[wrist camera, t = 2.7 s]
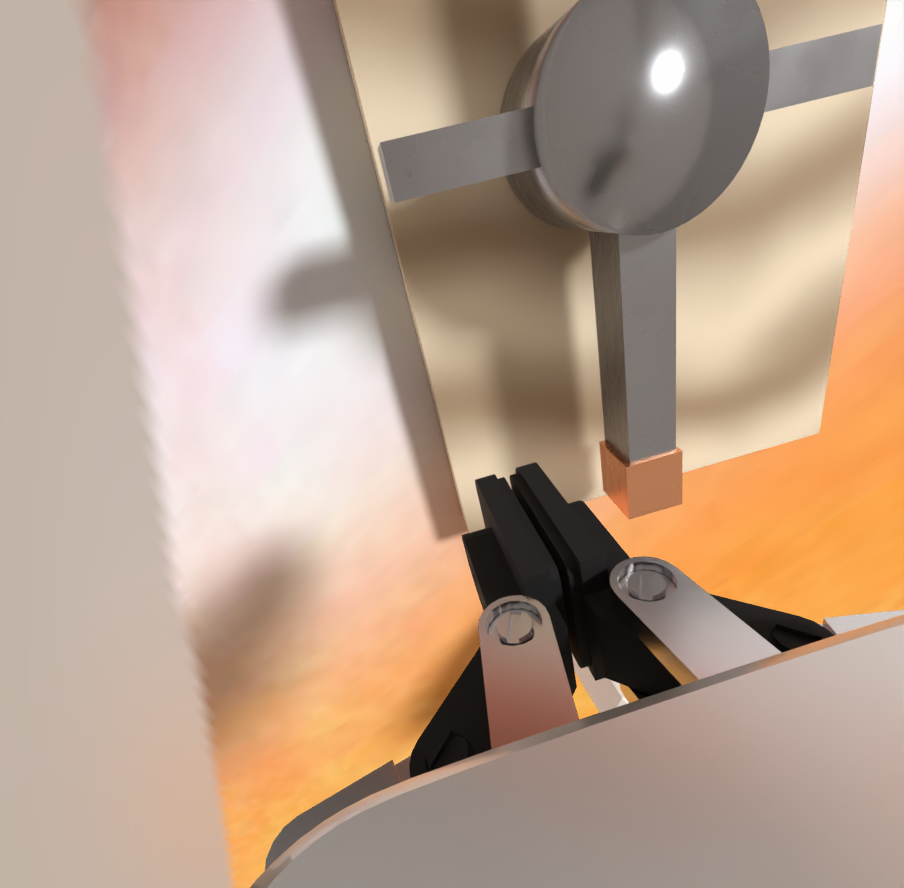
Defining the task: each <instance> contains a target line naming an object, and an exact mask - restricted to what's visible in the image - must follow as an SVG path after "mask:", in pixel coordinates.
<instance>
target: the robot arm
mask: <svg viewBox="0 0 904 888" xmlns="http://www.w3.org/2000/svg"><path fill="white" fill-rule="evenodd" d="M515 472H516V474H512V475H510V483H511V487H510V486H509V484H508V482H507V481H506V479H505V478H504V477H502V478H499V479H498V478H497V476H496V475H495V474H493V475H489V476H486V477H482V478H479V479H476V480H475V485H476V490H477V494H478V498H479V503H480V507H481V511H482V516H483V520H484V524H485V528H484V529H481V530H478V531H474V532H471V533H468V534H464V535H462V539H463V543H464V547H465V551H466V555H467V559H468V562H469V566H470V570H471V573H472V576H473V580H474V583H475V586H476V589H477V592H478V595H479V598H480V601H481V604H482V607H483V610H484V611H483V613H482V615H481V617H480V619H479V627H478V630H479V640H480V648H479V649H478V651H477V652H476V654H475V655H474V657H473V658H472V660H471V661H470V663H469V664H468V666H467V667H466V669H465V670H464V672H463V673H462V675H461V676H460V678H459V679H458V681H457V682H456V684H455V685H454V687H453V688H452V690H451V691H450V693H449V694H448V696H447V697H446V699H445V700H444V702H443V703H442V705H441V706H440V708H439V709H438V711H437V712H436V714H435V715H434V717H433V718H432V720H431V721H430V723H429V724H428V726H427V727H426V729H425V730H424V732H423V733H422V735H421V736H420V738H419V739H418V741H417V743H416V745H415V747H414V749H413V751H412V754H411V756H410V757H408V758H406V759H405V760H403V761H401V762H400V763H398V764H396V765H394V762H393V760H391V761H390V762H388V763H386V764H385V765H383V766H381V767H380V768H378V769H376V770H375V771H373V772H371V773H369V774H368V775H366V776H364V777H363V778H361V779H359V780H358V781H356V782H354V783H353V784H351V785H349V786H348V787H346V788H344V789H343V790H341V791H339V792H337V793H336V794H334V795H332V796H331V797H329V798H327V799H326V800H324V801H322V802H321V803H319V804H317V805H316V806H314V807H312V808H311V809H309V810H307V811H305V812H304V813H302V814H300V815H299V816H297V817H296V818H295V819H293V820H292V821H291V822H290V823H288V824H287V825H286V826H285V827H284V828H283V829H282V831H281V832H280V833H279V835H278V836H277V837H276V839H275V840H274V842H273V844H272V846H271V849H270V851H269V854H268V856H267V859H266V866H265V871H264V872H263V873H262V874H261V875H260V877H259V878H258V879H257V880H256V881H255V882H254V883H253V885H252V886H251V887H250V888H904V610H898V611H889V612H879V613H869V614H860V615H850V616H840V617H831V618H824V620H823V624H822V625H819V624H817V623H816V622H814V621H811V620H808V619H805V618H803V617H800V616H796V615H792V614H788V613H784V612H780V611H776V610H772V609H768V608H764V607H760V606H756V605H752V604H748V603H744V602H740V601H736V600H732V599H728V598H724V597H720V596H716V595H711V594H709V593H707V592H706V591H705V590H704V589H702V588H701V587H700V586H699V585H697V584H696V583H695V582H694V581H692V580H691V579H690V578H689V577H688V576H686V575H685V574H684V573H683V572H681V571H680V570H679V569H678V568H676V567H675V566H673V565H672V564H670V563H668V562H667V561H664V560H661V559H658V558H653V557H645V556H644V557H633V558H629V556H628V555H627V554H626V553H625V551H624V550H623V549H622V548H621V547H620V545H619V544H618V543H617V542H616V541H615V539H614V538H613V537H612V536H611V534H610V533H609V532H608V531H607V530H606V528H605V527H604V526H603V525H602V524H601V522H600V521H599V520H598V519H597V517H596V516H595V515H594V514H593V513H592V511H591V510H590V509H589V508H588V506H587V505H586V504H585V503H584V502H583V501H581V500H578V501H575V502H572V503H567V502H566V500H565V499H564V498H563V496H562V495H561V494H560V492H559V491H558V490H557V488H556V487H555V486H554V484H553V483H552V482H551V481H550V479H549V478H548V477H547V475H546V474H545V473H544V471H543V470H542V469H541V467H540V466H539V465H538V464H537V463H536V462H534V463H531V464H527V465H524V466H520V467H517V468H516V469H515ZM572 654H573V656H574V658H575V660H576V662H577V664H578V666H579V667H580V668H581V669H582V668H585V667H588V668H589V670H590V672H591V674H592V676H593V677H594V679H595V681H597V680H600V679H603V678H607V679H609V680H612V681H615V682H617V683H619V684H620V689H621V691H622V693H623V695H624V696H625V698H626V699H627V701H628V702H629V703H628V704H625V705H622V706H619V707H616V708H613V709H610V710H607V711H604V712H601V713H598V714H595V715H592V716H589V717H586V718H583V719H580V720H579V717H578V714H577V710H576V707H575V703H574V700H573V694H574V692H575V689H576V687H577V686H576V680H575V673H574V664H573V657H572Z"/></svg>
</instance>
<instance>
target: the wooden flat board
mask: <svg viewBox="0 0 904 888" xmlns="http://www.w3.org/2000/svg"><path fill="white" fill-rule="evenodd" d="M577 1H579V0H333V4H334V8H335V12H336V16H337V20H338V24H339V28H340V32H341V36H342V40H343V44H344V48H345V52H346V56H347V60H348V64H349V68H350V72H351V76H352V80H353V84H354V88H355V92H356V95H357V99H358V103H359V107H360V111H361V115H362V119H363V123H364V127H365V131H366V135H367V139H368V143H369V147H370V151H371V155H372V159H373V163H374V167H375V171H376V175H377V179H378V183H379V187H380V191H381V194H382V198H383V202H384V206H385V210H386V214H387V218H388V222H389V226H390V230H391V234H392V238H393V242H394V246H395V250H396V254H397V258H398V262H399V266H400V270H401V274H402V278H403V282H404V286H405V289H406V293H407V297H408V301H409V305H410V309H411V313H412V317H413V321H414V325H415V329H416V333H417V337H418V341H419V345H420V349H421V353H422V357H423V361H424V365H425V369H426V373H427V377H428V381H429V385H430V388H431V392H432V396H433V400H434V404H435V408H436V412H437V416H438V420H439V424H440V428H441V432H442V436H443V440H444V444H445V448H446V452H447V456H448V460H449V464H450V468H451V472H452V476H453V480H454V483H455V487H456V491H457V495H458V499H459V503H460V507H461V511H462V515H463V518H464V521H465V524H466V527H467V530H468V533H471V532H474V531H478V530H481V529H484V528H485V524H484V520H483V516H482V511H481V507H480V503H479V498H478V494H477V490H476V485H475V480H476V479H479V478H482V477H486V476H489V475H493V474H495V475H496V476H497V478H498V479H499V478H502V477H504V478H505V479H506V481H507V482H508V484H509V486H510V487H511V483H510V475H512V474H516V472H515V469H516V468H517V467H520V466H524V465H527V464H531V463H534V462H536V463H537V464H538V465H539V466H540V467H541V469H542V470H543V471H544V473H545V474H546V475H547V477H548V478H549V479H550V481H551V482H552V483H553V484H554V486H555V487H556V488H557V490H558V491H559V492H560V494H561V495H562V496H563V498H564V499H565V500H566V502H567V503H572V502H575V501H578V500H581V501H583V502H585V501H588V500H592V499H595V498H598V497H602V496H605V495H607V494H606V493H605V492H604V491H603V481H602V469H601V457H600V445H599V442H600V441H603V440H605V434H604V421H603V408H602V395H601V382H600V368H599V355H598V342H597V329H596V315H595V302H594V289H593V276H592V263H591V249H590V236H589V231H582V230H572V229H564V228H559V227H556V226H552V225H550V224H548V223H546V222H544V221H542V220H540V219H539V218H537V217H536V216H534V215H533V214H532V213H531V212H530V211H528V210H527V209H526V208H525V207H524V205H523V204H522V203H521V202H520V201H519V200H518V198H517V197H516V195H515V193H514V192H513V190H512V189H511V186H510V184H509V182H508V180H507V178H506V176H503V177H499V178H494V179H490V180H486V181H482V182H478V183H474V184H470V185H466V186H462V187H458V188H454V189H450V190H445V191H441V192H437V193H433V194H429V195H425V196H421V197H417V198H413V199H409V200H405V201H401V202H396V203H391V202H390V198H389V194H388V190H387V186H386V182H385V177H384V173H383V169H382V165H381V161H380V157H379V153H378V147H379V144H380V142H384V141H388V140H392V139H397V138H401V137H405V136H409V135H414V134H418V133H422V132H426V131H430V130H435V129H439V128H443V127H447V126H452V125H456V124H460V123H464V122H469V121H473V120H477V119H481V118H485V117H490V116H494V115H498V114H500V108H501V104H502V100H503V96H504V93H505V90H506V87H507V84H508V81H509V79H510V77H511V75H512V73H513V71H514V69H515V67H516V65H517V64H518V62H519V60H520V59H521V57H522V56H523V54H524V53H525V52H526V51H527V49H528V48H529V47H530V46H531V44H532V43H533V42H534V41H535V40H537V39H538V38H539V37H540V36H541V35H542V34H543V33H544V32H545V31H546V30H547V29H548V28H549V27H550V26H552V25H553V24H554V23H555V22H556V21H557V20H558V19H559V18H560V17H561V16H562V15H563V14H564V13H566V12H567V11H568V10H569V9H570V8H571V7H572V6H573V5H574V4H575V3H576V2H577ZM756 2H757V4H758V6H759V8H760V11H761V14H762V17H763V21H764V24H765V28H766V33H767V38H768V45H769V50H773V49H777V48H781V47H786V46H790V45H794V44H798V43H803V42H807V41H811V40H815V39H820V38H824V37H828V36H832V35H836V34H841V33H845V32H849V31H853V30H858V29H862V28H866V27H870V26H875V25H879V24H884V18H885V12H886V5H887V0H756ZM882 31H883V25H882ZM882 31H881V37H882ZM881 37H880V43H881ZM879 50H880V44H879ZM879 50H878V56H879ZM878 56H877V62H878ZM876 69H877V63H876ZM876 69H875V75H876ZM874 81H875V76H874ZM873 88H874V82H873V86H870V87H866V88H862V89H858V90H854V91H850V92H846V93H841V94H837V95H833V96H829V97H825V98H821V99H817V100H813V101H809V102H805V103H801V104H797V105H793V106H788V107H784V108H780V109H776V110H772V111H768V112H764V114H763V118H762V121H761V124H760V128H759V131H758V134H757V136H756V139H755V141H754V143H753V146H752V148H751V150H750V152H749V154H748V156H747V158H746V160H745V162H744V164H743V165H742V167H741V169H740V170H739V172H738V173H737V175H736V176H735V178H734V179H733V181H732V182H731V183H730V184H729V186H728V187H727V188H726V189H725V191H724V192H723V193H722V194H721V195H720V196H719V197H718V198H717V199H716V200H715V201H714V202H713V203H712V204H711V205H710V206H709V207H708V208H706V209H705V210H704V211H703V212H702V213H700V214H699V215H697V216H696V217H694V218H693V219H691V220H690V221H688V222H686V223H684V224H682V225H680V226H678V227H676V447H678V448H679V449H681V450H682V451H683V459H682V473H684V472H687V471H691V470H694V469H698V468H701V467H705V466H708V465H711V464H715V463H718V462H722V461H725V460H729V459H732V458H735V457H739V456H742V455H746V454H749V453H753V452H756V451H759V450H763V449H766V448H770V447H773V446H776V445H780V444H783V443H787V442H790V441H794V440H797V439H800V438H804V437H807V436H811V435H814V434H818V433H819V430H820V424H821V417H822V411H823V405H824V398H825V392H826V386H827V379H828V373H829V367H830V360H831V354H832V348H833V341H834V335H835V329H836V322H837V316H838V310H839V303H840V297H841V291H842V284H843V278H844V272H845V265H846V259H847V253H848V246H849V240H850V234H851V227H852V221H853V214H854V208H855V202H856V195H857V189H858V183H859V176H860V170H861V164H862V157H863V151H864V145H865V138H866V132H867V126H868V119H869V113H870V107H871V100H872V94H873Z"/></svg>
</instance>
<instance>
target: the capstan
mask: <svg viewBox="0 0 904 888" xmlns="http://www.w3.org/2000/svg"><path fill="white" fill-rule="evenodd" d="M882 25H883V24H879V25H875V26H870V27H866V28H862V29H858V30H853V31H849V32H845V33H841V34H836V35H832V36H828V37H824V38H820V39H815V40H811V41H807V42H803V43H798V44H794V45H790V46H786V47H781V48H777V49H773V50H769V45H768V38H767V33H766V28H765V24H764V21H763V17H762V14H761V11H760V8H759V6H758V4H757V2H756V0H579V1H577V2H576V3H575V4H574V5H573V6H572V7H571V8H570V9H569V10H568V11H567V12H566V13H564V14H563V15H562V16H561V17H560V18H559V19H558V20H557V21H556V22H555V23H554V24H553V25H552V26H550V27H549V28H548V29H547V30H546V31H545V32H544V33H543V34H542V35H541V36H540V37H539V38H538V39H537V40H535V41H534V42H533V43H532V44H531V46H530V47H529V48H528V49H527V51H526V52H525V53H524V54H523V56H522V57H521V59H520V60H519V62H518V64H517V65H516V67H515V69H514V71H513V73H512V75H511V77H510V79H509V81H508V84H507V87H506V90H505V93H504V96H503V100H502V104H501V108H500V114H498V115H494V116H490V117H485V118H481V119H477V120H473V121H469V122H464V123H460V124H456V125H452V126H447V127H443V128H439V129H435V130H430V131H426V132H422V133H418V134H414V135H409V136H405V137H401V138H397V139H392V140H388V141H384V142H380V144H379V147H378V153H379V157H380V161H381V165H382V169H383V173H384V177H385V182H386V186H387V190H388V194H389V198H390V202H391V203H396V202H401V201H405V200H409V199H413V198H417V197H421V196H425V195H429V194H433V193H437V192H441V191H445V190H450V189H454V188H458V187H462V186H466V185H470V184H474V183H478V182H482V181H486V180H490V179H494V178H499V177H503V176H506V178H507V180H508V182H509V184H510V186H511V189H512V190H513V192H514V193H515V195H516V197H517V198H518V200H519V201H520V202H521V203H522V204H523V205H524V207H525V208H526V209H527V210H528V211H530V212H531V213H532V214H533V215H534V216H536V217H537V218H539V219H540V220H542V221H544V222H546V223H548V224H550V225H552V226H556V227H559V228H564V229H572V230H582V231H589V236H590V249H591V263H592V276H593V289H594V302H595V315H596V329H597V342H598V355H599V368H600V382H601V395H602V408H603V421H604V434H605V440H603V441H600V442H599V445H600V457H601V469H602V481H603V491H604V492H605V493H606V494H607V495H608V496H609V497H610V498H611V500H612V501H613V502H614V503H615V504H616V505H617V506H618V508H619V509H620V510H621V511H622V512H623V513H624V514H625V515H626V517H627V518H628V519H632V518H636V517H639V516H643V515H646V514H649V513H653V512H656V511H659V510H663V509H666V508H670V507H673V506H676V505H680V504H682V459H683V451H682V450H681V449H679V448H678V447H676V227H678V226H680V225H682V224H684V223H686V222H688V221H690V220H691V219H693V218H694V217H696V216H697V215H699V214H700V213H702V212H703V211H704V210H705V209H706V208H708V207H709V206H710V205H711V204H712V203H713V202H714V201H715V200H716V199H717V198H718V197H719V196H720V195H721V194H722V193H723V192H724V191H725V189H726V188H727V187H728V186H729V184H730V183H731V182H732V181H733V179H734V178H735V176H736V175H737V173H738V172H739V170H740V169H741V167H742V165H743V164H744V162H745V160H746V158H747V156H748V154H749V152H750V150H751V148H752V146H753V143H754V141H755V139H756V136H757V134H758V131H759V128H760V124H761V121H762V118H763V114H764V112H768V111H772V110H776V109H780V108H784V107H788V106H793V105H797V104H801V103H805V102H809V101H813V100H817V99H821V98H825V97H829V96H833V95H837V94H841V93H846V92H850V91H854V90H858V89H862V88H866V87H870V86H873V82H874V76H875V69H876V63H877V56H878V50H879V44H880V37H881V31H882Z"/></svg>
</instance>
